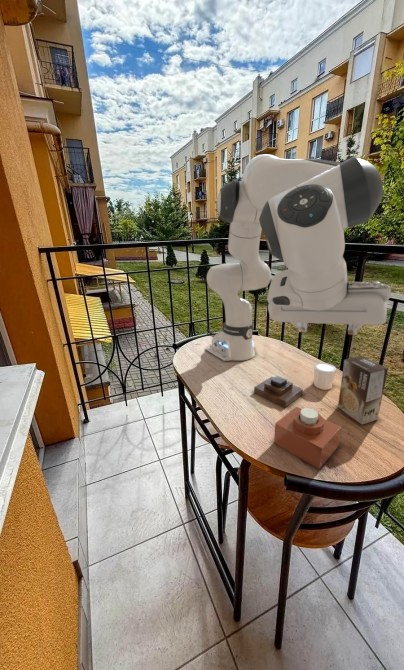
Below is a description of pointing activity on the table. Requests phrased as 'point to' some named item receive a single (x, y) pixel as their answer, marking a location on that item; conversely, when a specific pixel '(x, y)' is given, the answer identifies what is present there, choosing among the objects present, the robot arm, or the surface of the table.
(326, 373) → the white cylinder
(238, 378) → the table surface
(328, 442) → the push button box
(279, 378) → the switch button
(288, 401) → the switch block
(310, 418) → the white push button
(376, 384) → the coffee box
